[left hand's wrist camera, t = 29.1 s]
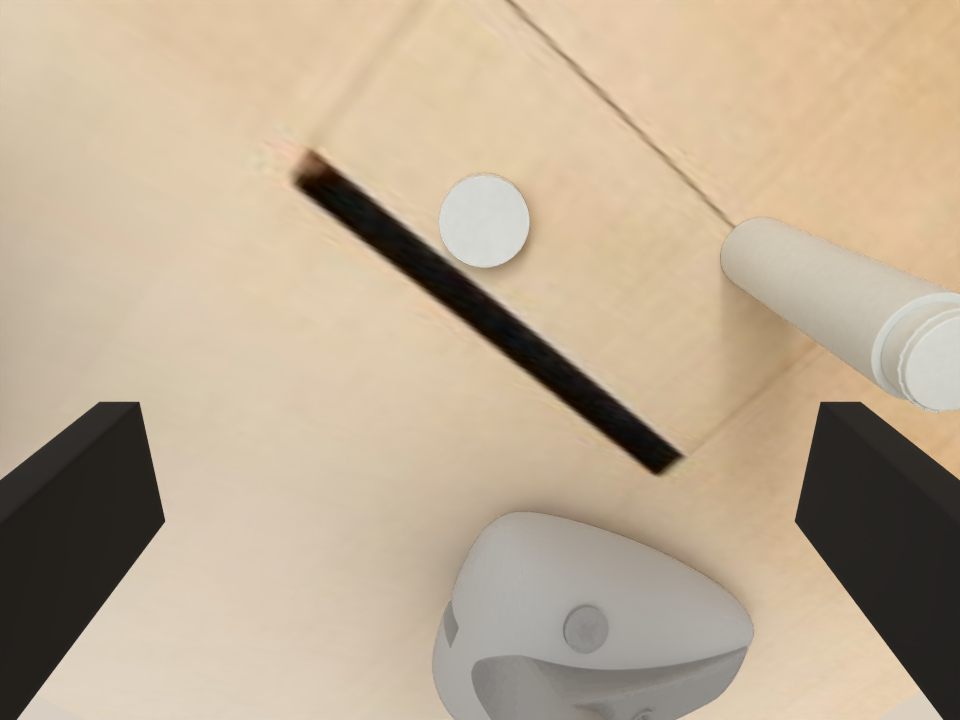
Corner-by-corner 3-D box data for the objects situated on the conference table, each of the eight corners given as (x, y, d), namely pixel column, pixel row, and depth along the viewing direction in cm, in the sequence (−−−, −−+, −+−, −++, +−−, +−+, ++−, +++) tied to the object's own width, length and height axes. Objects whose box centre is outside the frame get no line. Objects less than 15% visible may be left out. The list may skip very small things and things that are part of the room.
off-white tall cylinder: (734, 210, 39) (931, 294, 22) (803, 225, 40) (1048, 319, 23) (710, 279, 41) (876, 407, 24) (776, 293, 41) (986, 429, 24)
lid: (461, 273, 41) (460, 281, 39) (426, 193, 39) (424, 198, 37) (540, 241, 40) (542, 247, 38) (508, 158, 38) (509, 161, 37)
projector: (522, 737, 56) (535, 940, 43) (375, 551, 49) (335, 725, 35) (762, 639, 52) (863, 829, 38) (642, 419, 45) (713, 559, 31)
